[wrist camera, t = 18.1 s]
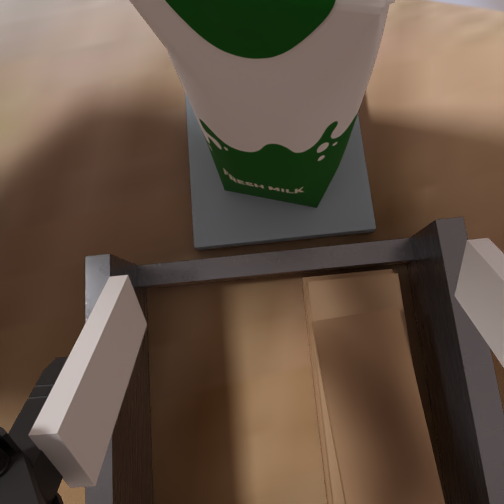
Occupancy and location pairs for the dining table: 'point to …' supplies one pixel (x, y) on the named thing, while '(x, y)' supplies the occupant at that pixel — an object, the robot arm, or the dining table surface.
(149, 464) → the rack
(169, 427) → the dining table surface
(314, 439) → the dining table surface
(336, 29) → the soya milk
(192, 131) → the mat
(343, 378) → the offcut stack
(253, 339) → the dining table surface
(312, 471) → the dining table surface
